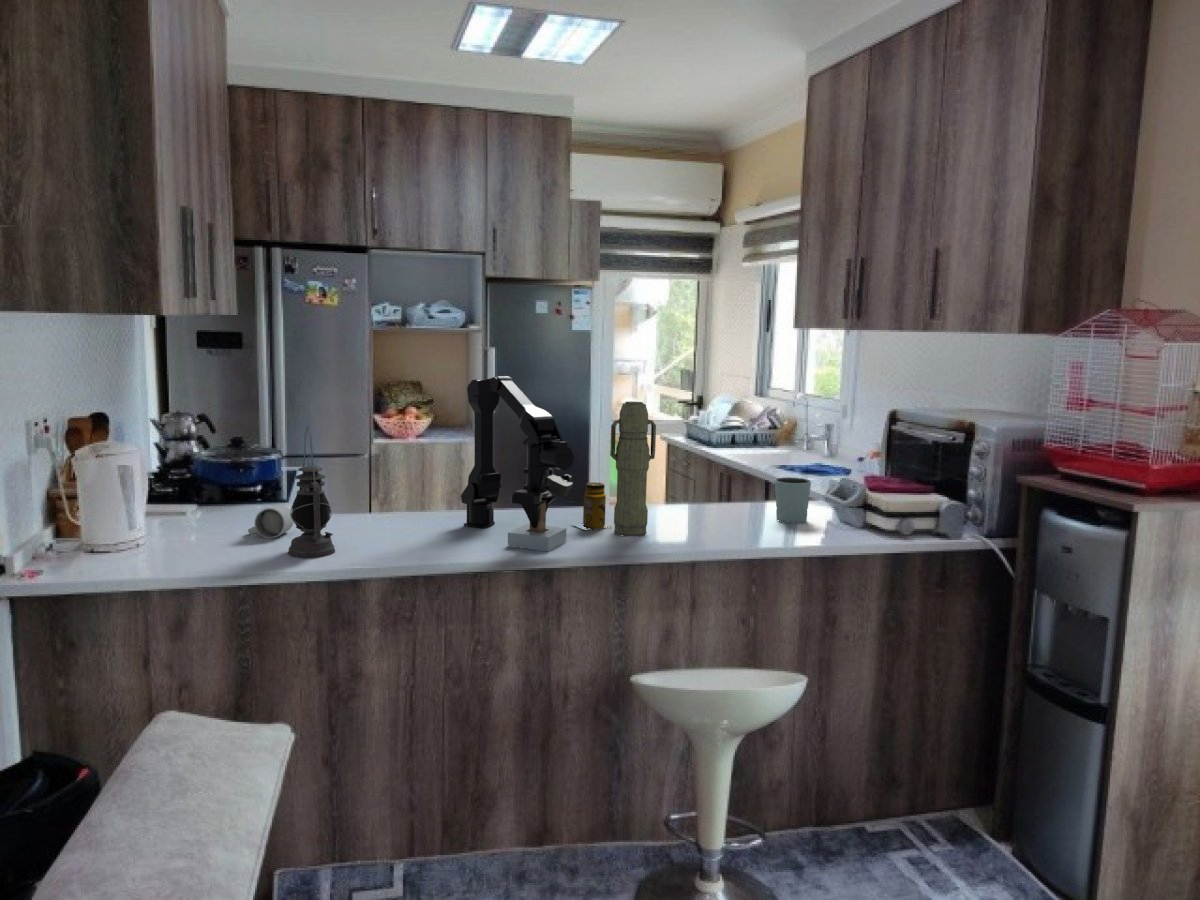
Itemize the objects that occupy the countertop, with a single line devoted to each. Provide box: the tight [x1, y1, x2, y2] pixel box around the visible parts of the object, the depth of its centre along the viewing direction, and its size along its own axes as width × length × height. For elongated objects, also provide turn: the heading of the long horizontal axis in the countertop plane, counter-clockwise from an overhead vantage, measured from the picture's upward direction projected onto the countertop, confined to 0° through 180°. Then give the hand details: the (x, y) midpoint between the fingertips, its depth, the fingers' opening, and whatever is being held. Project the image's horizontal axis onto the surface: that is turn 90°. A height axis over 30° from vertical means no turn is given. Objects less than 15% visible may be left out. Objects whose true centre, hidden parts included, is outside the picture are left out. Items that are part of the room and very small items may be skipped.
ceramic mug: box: [247, 504, 295, 540], centre depth 221 cm, size 11×8×8 cm
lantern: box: [287, 425, 336, 559], centre depth 203 cm, size 12×11×30 cm
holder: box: [507, 523, 567, 552], centre depth 218 cm, size 11×11×4 cm
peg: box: [529, 500, 547, 533], centre depth 218 cm, size 3×3×10 cm
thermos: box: [609, 401, 657, 537], centre depth 231 cm, size 9×12×35 cm
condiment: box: [582, 482, 611, 531], centre depth 238 cm, size 7×8×12 cm
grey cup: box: [774, 476, 812, 525], centre depth 252 cm, size 10×10×12 cm
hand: (537, 526), depth 218 cm, fingers closed on peg, 3 cm apart
